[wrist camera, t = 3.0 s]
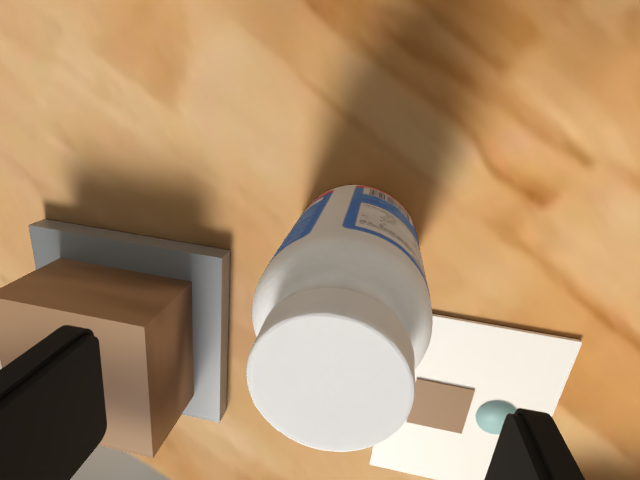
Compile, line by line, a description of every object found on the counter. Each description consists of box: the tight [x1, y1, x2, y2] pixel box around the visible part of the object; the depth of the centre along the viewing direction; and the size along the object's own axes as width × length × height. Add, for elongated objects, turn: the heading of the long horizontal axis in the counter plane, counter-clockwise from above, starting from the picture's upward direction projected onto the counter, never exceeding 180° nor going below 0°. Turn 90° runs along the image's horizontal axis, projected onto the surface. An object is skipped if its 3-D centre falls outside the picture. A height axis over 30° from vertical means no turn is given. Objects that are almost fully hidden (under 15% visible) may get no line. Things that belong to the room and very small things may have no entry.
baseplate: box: [29, 219, 230, 423], centre depth 22 cm, size 10×10×1 cm
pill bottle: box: [246, 185, 433, 452], centre depth 14 cm, size 6×5×10 cm
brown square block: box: [0, 258, 194, 458], centre depth 19 cm, size 7×7×4 cm
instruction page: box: [370, 314, 582, 480], centre depth 20 cm, size 10×8×1 cm
